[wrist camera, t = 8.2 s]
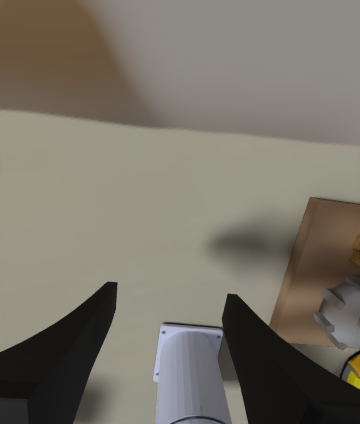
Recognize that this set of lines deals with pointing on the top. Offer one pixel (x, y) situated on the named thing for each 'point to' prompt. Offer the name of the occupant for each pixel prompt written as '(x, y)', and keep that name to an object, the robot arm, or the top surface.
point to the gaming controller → (352, 372)
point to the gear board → (322, 279)
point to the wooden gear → (356, 253)
